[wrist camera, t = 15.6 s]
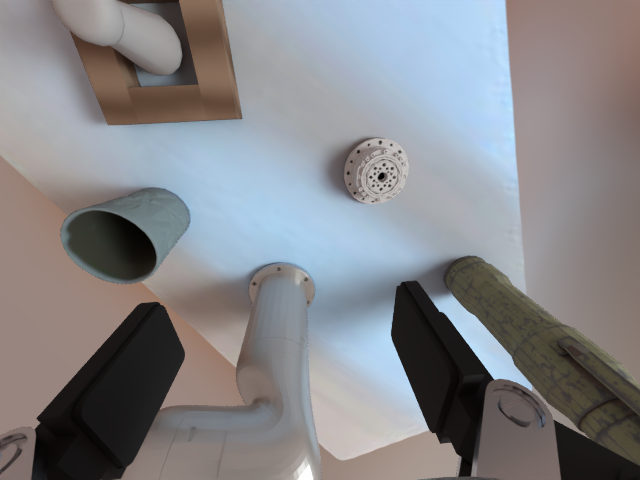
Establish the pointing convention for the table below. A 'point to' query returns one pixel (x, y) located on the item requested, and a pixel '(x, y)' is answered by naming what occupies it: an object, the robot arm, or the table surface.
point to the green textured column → (554, 357)
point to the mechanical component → (376, 171)
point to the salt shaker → (124, 32)
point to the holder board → (169, 101)
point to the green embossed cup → (126, 235)
